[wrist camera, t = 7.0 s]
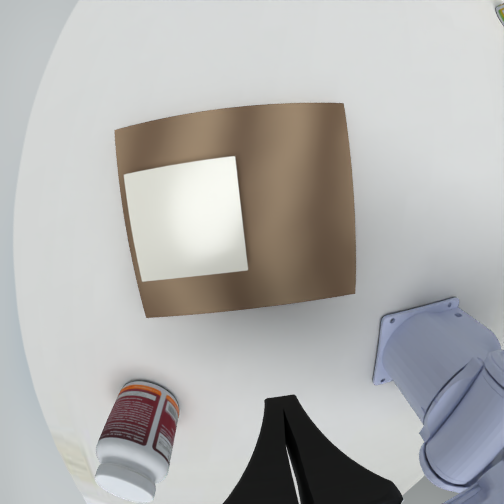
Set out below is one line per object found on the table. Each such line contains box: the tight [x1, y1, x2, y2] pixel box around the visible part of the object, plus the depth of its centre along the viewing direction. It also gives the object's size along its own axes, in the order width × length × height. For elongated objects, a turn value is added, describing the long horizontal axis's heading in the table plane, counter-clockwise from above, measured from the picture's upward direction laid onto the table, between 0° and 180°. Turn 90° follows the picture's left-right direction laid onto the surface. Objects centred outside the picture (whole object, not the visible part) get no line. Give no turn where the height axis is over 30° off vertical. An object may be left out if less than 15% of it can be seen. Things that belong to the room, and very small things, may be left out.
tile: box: [124, 156, 248, 282], centre depth 17 cm, size 2×7×7 cm
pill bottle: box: [95, 381, 179, 503], centre depth 18 cm, size 6×6×11 cm
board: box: [115, 103, 356, 318], centre depth 19 cm, size 16×14×1 cm
